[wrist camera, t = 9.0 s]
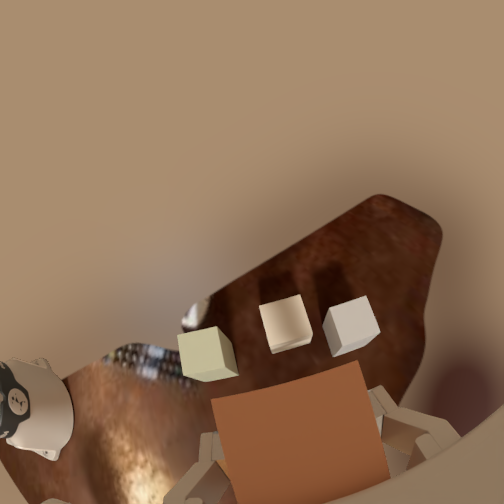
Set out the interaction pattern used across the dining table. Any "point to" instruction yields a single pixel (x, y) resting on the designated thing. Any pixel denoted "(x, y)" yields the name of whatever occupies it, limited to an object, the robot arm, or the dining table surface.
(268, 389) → the terracotta block
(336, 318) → the light grey block
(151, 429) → the dining table surface
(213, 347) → the sage block
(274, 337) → the off-white cube
